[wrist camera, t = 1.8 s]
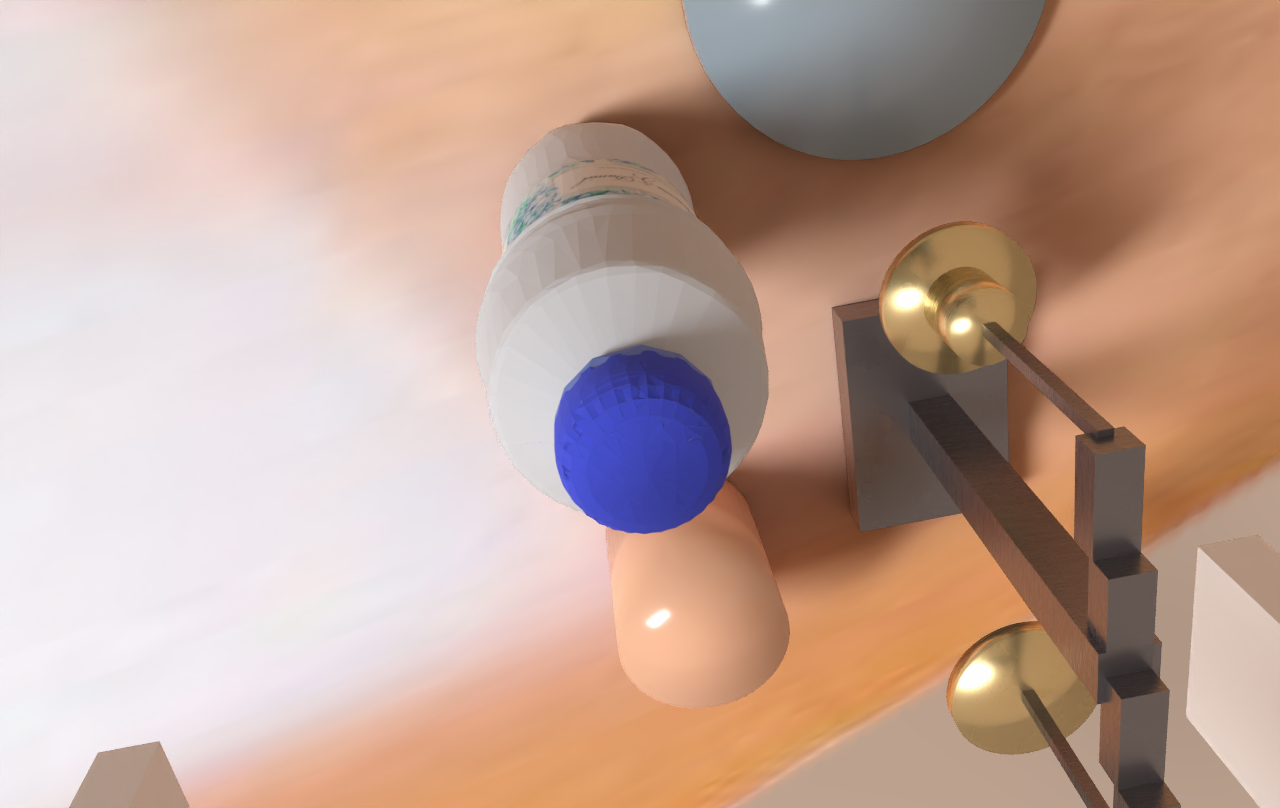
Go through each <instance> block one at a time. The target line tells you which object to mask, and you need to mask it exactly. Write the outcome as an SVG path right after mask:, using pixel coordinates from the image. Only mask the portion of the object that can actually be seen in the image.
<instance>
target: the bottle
mask: <svg viewBox="0 0 1280 808" xmlns="http://www.w3.org/2000/svg"><path fill="white" fill-rule="evenodd" d="M500 227H501V242H502V248H503V254H502V257H501V258H500V260H499V261H498V263H497V264H496V266H495V268H494V270H493V272H492V275H491V277H490V280H489V282H488V285H487V288H486V292H485V295H484V298H483V301H482V305H481V308H480V311H479V315H478V322H477V328H476V355H477V364H478V368H479V372H480V376H481V379H482V382H483V385H484V388H485V391H486V397H487V402H488V407H489V412H490V416H491V420H492V424H493V428H494V431H495V434H496V436H497V439H498V441H499V443H500V445H501V447H502V449H503V450H504V452H505V454H506V455H507V457H508V458H509V460H510V461H511V463H512V464H513V466H514V467H515V468H516V470H517V471H518V472H519V473H520V474H521V475H522V476H523V477H524V478H525V479H526V480H527V481H528V482H529V483H530V484H531V485H533V486H534V487H535V488H536V489H537V490H539V491H540V492H542V493H543V494H545V495H546V496H548V497H549V498H551V499H552V500H554V501H556V502H558V503H561V504H563V505H565V506H567V507H569V508H572V509H574V510H576V511H580V512H584V513H585V514H586V515H587V516H589V517H591V518H593V519H594V520H596V521H597V522H598V523H599V524H602V525H605V526H607V527H609V528H611V529H613V530H618V531H623V532H626V533H640V534H648V533H657V532H663V531H666V530H669V529H673V528H677V527H678V526H680V525H682V524H684V523H686V522H689V521H691V520H692V519H693V518H695V517H696V516H697V515H699V514H700V513H701V512H703V511H704V510H705V508H706V507H707V506H708V505H709V504H710V503H711V502H712V501H713V500H714V499H715V496H716V494H717V493H718V492H719V491H720V489H721V488H722V487H723V485H724V482H725V480H726V478H727V477H728V476H729V475H730V474H731V473H732V472H733V471H734V470H735V469H736V468H737V467H738V466H739V464H740V463H741V461H742V460H743V459H744V457H745V456H746V455H747V453H748V452H749V450H750V449H751V447H752V445H753V443H754V442H755V440H756V438H757V435H758V433H759V430H760V428H761V425H762V422H763V418H764V414H765V409H766V405H767V400H768V366H767V361H766V355H765V349H764V343H763V338H762V321H761V313H760V309H759V304H758V300H757V298H756V295H755V292H754V289H753V286H752V284H751V282H750V280H749V278H748V276H747V275H746V273H745V271H744V269H743V267H742V266H741V265H740V263H739V262H738V261H737V259H736V258H735V256H734V255H733V254H732V252H731V251H730V250H729V249H728V248H727V247H726V246H725V244H724V243H723V241H722V240H721V239H720V238H719V237H718V236H717V235H716V234H715V233H714V232H713V231H712V230H711V229H710V228H709V227H708V226H707V225H705V224H704V223H703V222H701V221H700V220H699V219H697V217H696V215H695V212H694V208H693V204H692V199H691V196H690V193H689V190H688V187H687V185H686V183H685V181H684V179H683V177H682V175H681V173H680V171H679V169H678V167H677V166H676V165H675V163H674V162H673V161H672V160H671V158H670V157H669V156H668V154H667V153H665V152H664V151H663V150H662V149H661V148H660V147H659V146H658V145H657V144H656V143H655V142H653V141H652V140H651V139H649V138H648V137H647V136H645V135H644V134H643V133H641V132H640V131H638V130H635V129H633V128H631V127H628V126H626V125H623V124H615V123H601V122H592V123H579V124H569V125H564V126H562V127H559V128H557V129H555V130H553V131H551V132H549V133H548V134H547V135H546V136H544V137H543V138H542V139H541V140H540V141H539V142H538V143H536V144H535V145H534V146H533V147H532V148H531V149H530V150H528V152H527V153H526V154H525V155H524V157H523V158H522V159H521V160H520V162H519V163H518V164H517V165H516V167H515V168H514V170H513V172H512V174H511V175H510V177H509V179H508V181H507V184H506V188H505V192H504V196H503V200H502V206H501V218H500Z"/></svg>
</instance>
